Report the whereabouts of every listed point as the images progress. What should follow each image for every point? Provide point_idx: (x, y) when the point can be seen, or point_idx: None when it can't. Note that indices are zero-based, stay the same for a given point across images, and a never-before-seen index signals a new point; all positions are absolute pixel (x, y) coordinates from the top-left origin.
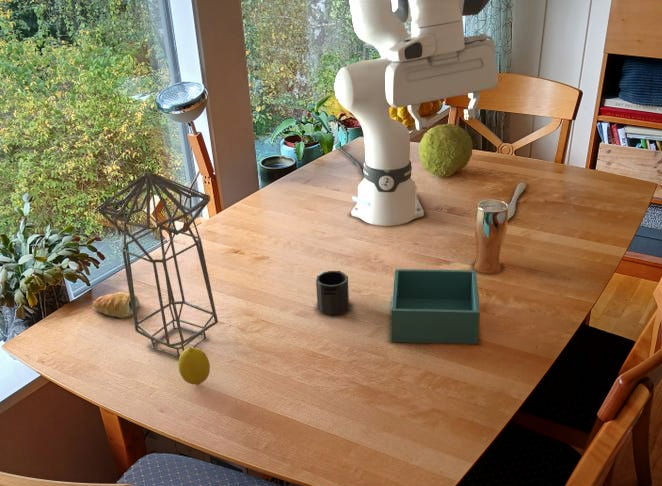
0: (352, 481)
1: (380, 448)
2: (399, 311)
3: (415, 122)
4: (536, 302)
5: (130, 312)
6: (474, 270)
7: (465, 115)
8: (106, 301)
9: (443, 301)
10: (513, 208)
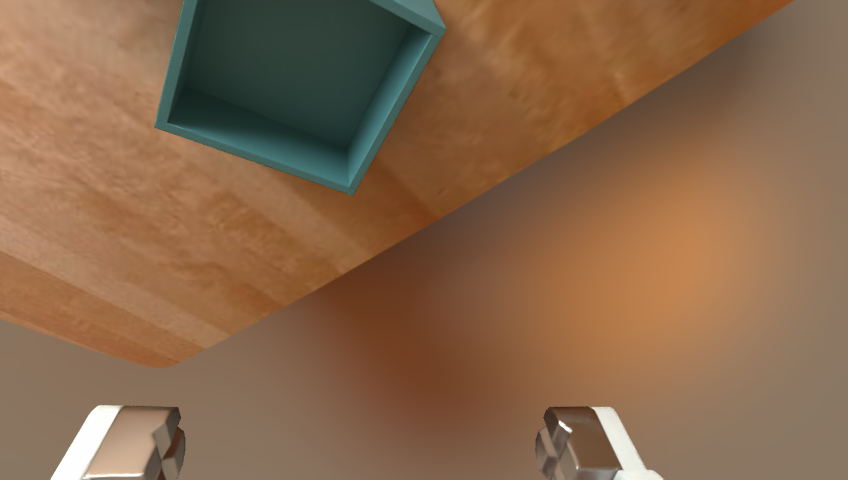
0: (75, 333)
1: (118, 302)
2: (176, 133)
3: (68, 453)
4: (546, 68)
5: None
6: (443, 28)
7: (556, 441)
8: None
9: None
10: None
